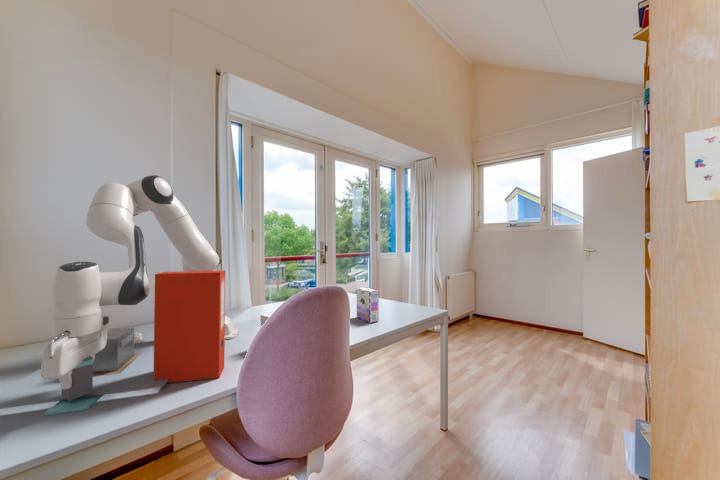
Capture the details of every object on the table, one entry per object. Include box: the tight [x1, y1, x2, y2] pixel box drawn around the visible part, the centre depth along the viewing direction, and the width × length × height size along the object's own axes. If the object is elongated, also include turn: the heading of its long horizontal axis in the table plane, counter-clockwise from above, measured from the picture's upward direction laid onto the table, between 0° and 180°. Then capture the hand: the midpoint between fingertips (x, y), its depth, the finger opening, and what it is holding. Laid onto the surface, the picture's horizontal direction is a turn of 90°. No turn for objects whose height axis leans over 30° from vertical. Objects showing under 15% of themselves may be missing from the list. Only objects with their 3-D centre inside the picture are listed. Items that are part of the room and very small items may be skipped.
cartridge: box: [60, 356, 94, 401], centre depth 73 cm, size 5×5×9 cm
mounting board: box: [93, 353, 142, 377], centre depth 92 cm, size 10×16×2 cm, turn 19°
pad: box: [44, 393, 104, 416], centre depth 73 cm, size 8×8×1 cm
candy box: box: [356, 286, 380, 324], centre depth 153 cm, size 14×6×16 cm, turn 30°
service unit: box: [93, 326, 135, 374], centre depth 92 cm, size 7×12×10 cm, turn 19°
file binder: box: [153, 270, 226, 384], centre depth 88 cm, size 8×17×32 cm, turn 105°
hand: (77, 380), depth 73 cm, fingers closed on cartridge, 6 cm apart
